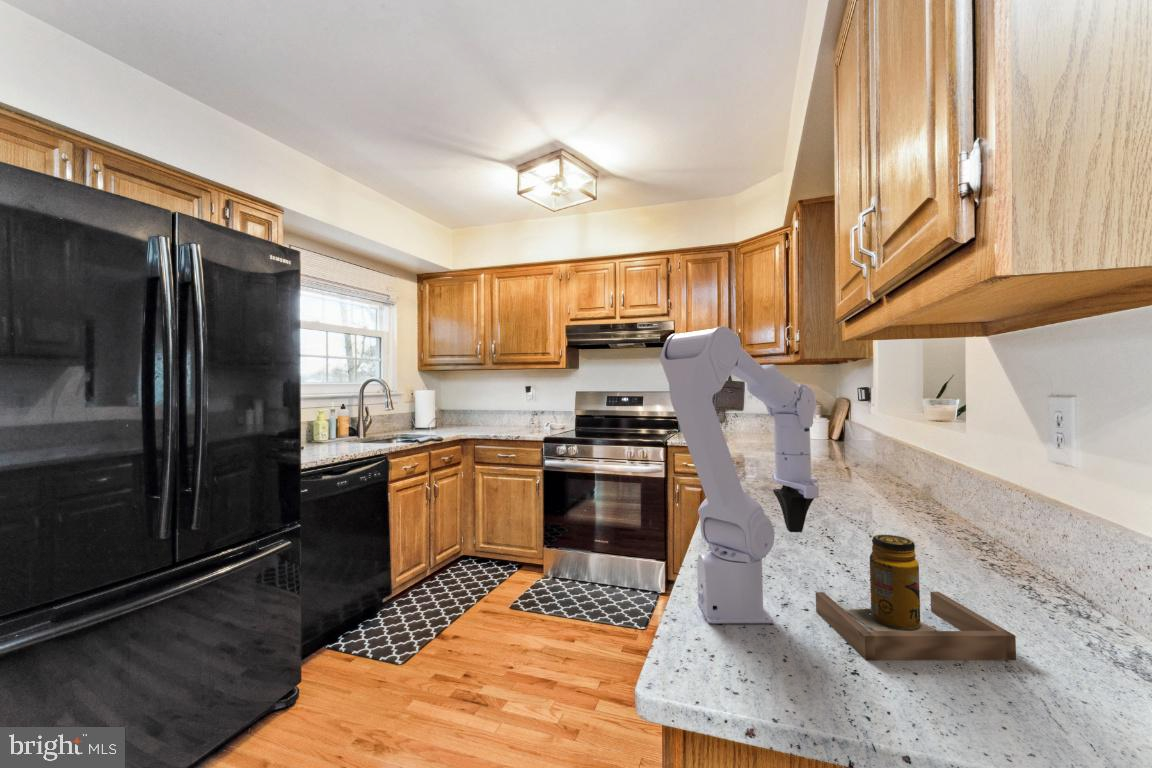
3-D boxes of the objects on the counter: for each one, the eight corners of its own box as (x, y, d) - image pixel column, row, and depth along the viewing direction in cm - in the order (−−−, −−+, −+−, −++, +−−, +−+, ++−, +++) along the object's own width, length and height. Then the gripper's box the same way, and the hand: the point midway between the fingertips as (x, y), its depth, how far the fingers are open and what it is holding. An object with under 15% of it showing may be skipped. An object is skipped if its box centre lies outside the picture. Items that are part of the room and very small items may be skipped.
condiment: (936, 631, 67) (933, 545, 67) (881, 636, 66) (878, 548, 66) (896, 608, 74) (893, 530, 74) (845, 612, 73) (843, 533, 73)
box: (865, 660, 60) (864, 635, 60) (816, 611, 73) (815, 592, 73) (1016, 659, 59) (1015, 635, 59) (939, 611, 72) (938, 591, 73)
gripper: (836, 458, 76) (839, 544, 76) (797, 448, 91) (799, 519, 90) (792, 459, 76) (794, 544, 76) (760, 448, 91) (762, 520, 91)
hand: (794, 531), depth 83 cm, fingers closed
